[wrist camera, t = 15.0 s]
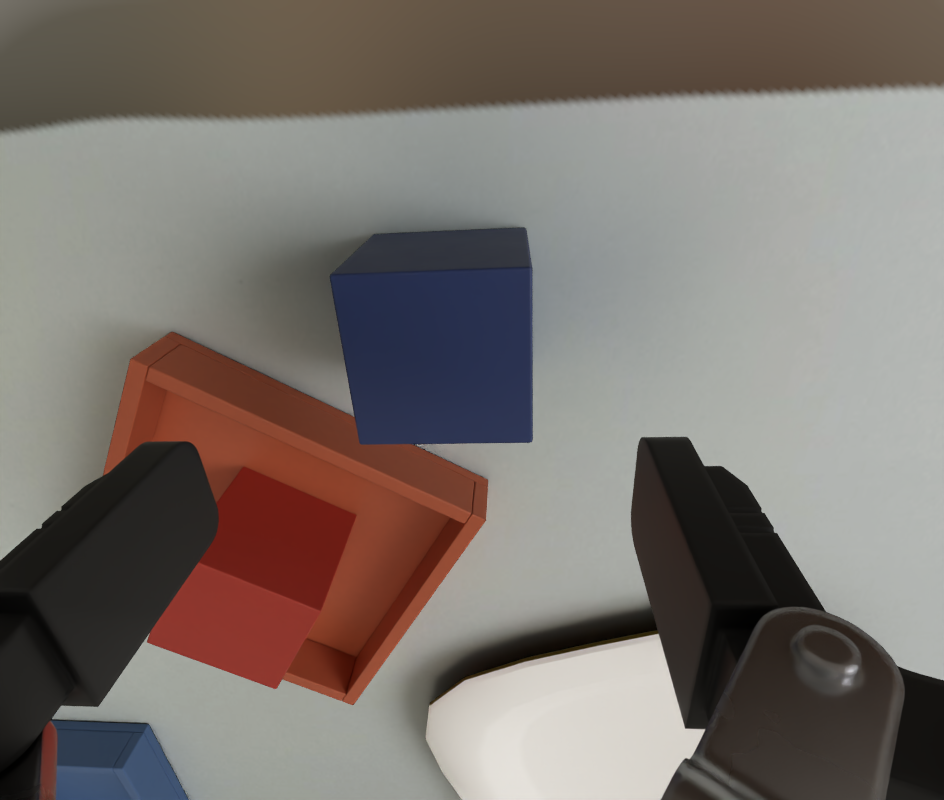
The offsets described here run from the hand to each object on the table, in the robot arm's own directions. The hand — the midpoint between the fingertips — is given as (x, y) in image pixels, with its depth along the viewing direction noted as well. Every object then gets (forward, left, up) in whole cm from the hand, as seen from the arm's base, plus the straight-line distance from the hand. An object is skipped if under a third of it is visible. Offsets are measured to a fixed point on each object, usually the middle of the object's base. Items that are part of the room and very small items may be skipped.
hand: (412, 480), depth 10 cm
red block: (-2, -13, -10) cm, 16 cm away
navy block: (0, 0, -10) cm, 10 cm away
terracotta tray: (-2, -13, -10) cm, 16 cm away
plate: (+21, -18, -10) cm, 29 cm away
